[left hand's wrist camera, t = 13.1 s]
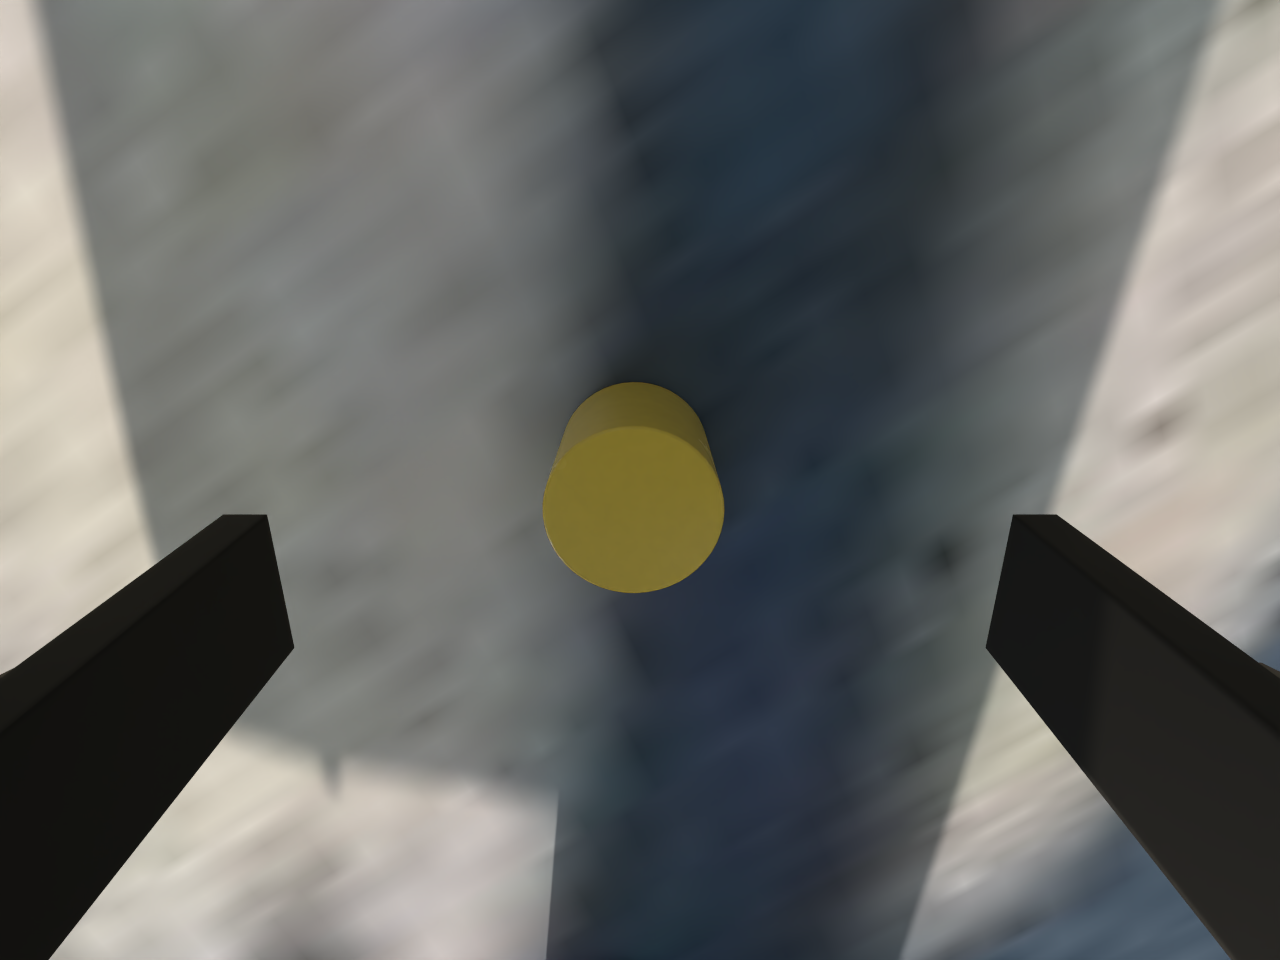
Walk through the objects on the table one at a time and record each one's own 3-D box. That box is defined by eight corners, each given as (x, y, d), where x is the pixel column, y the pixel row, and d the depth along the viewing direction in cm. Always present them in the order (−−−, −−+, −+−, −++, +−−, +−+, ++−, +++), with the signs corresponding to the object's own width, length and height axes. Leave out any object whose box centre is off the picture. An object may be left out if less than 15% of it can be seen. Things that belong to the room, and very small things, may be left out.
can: (697, 525, 20) (711, 601, 16) (557, 512, 20) (537, 586, 16) (717, 389, 19) (737, 436, 15) (566, 374, 19) (547, 417, 15)
